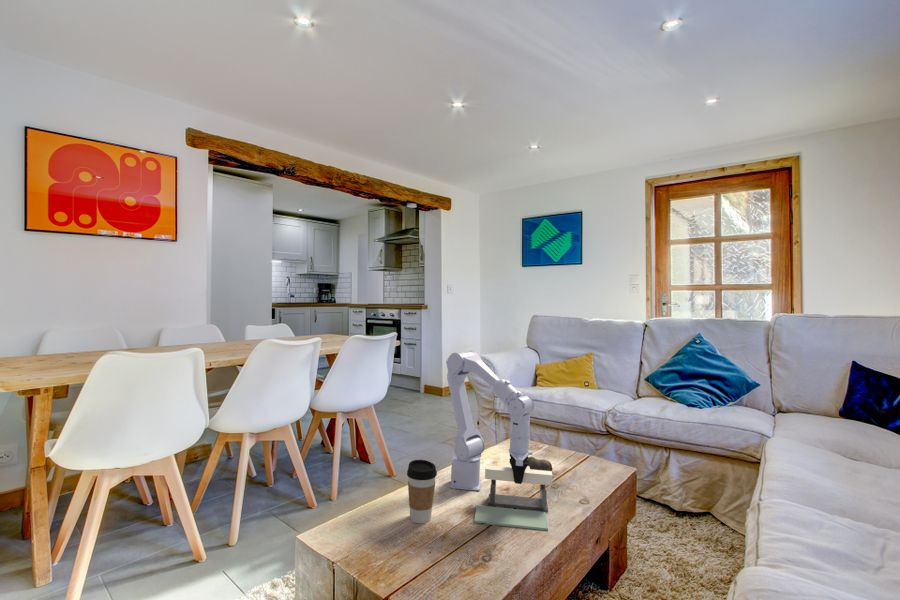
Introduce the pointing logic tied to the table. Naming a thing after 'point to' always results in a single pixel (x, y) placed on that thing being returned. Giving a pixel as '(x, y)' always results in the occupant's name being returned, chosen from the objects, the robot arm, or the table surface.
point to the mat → (511, 517)
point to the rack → (518, 500)
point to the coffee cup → (421, 489)
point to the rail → (529, 477)
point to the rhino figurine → (539, 464)
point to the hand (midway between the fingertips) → (518, 480)
